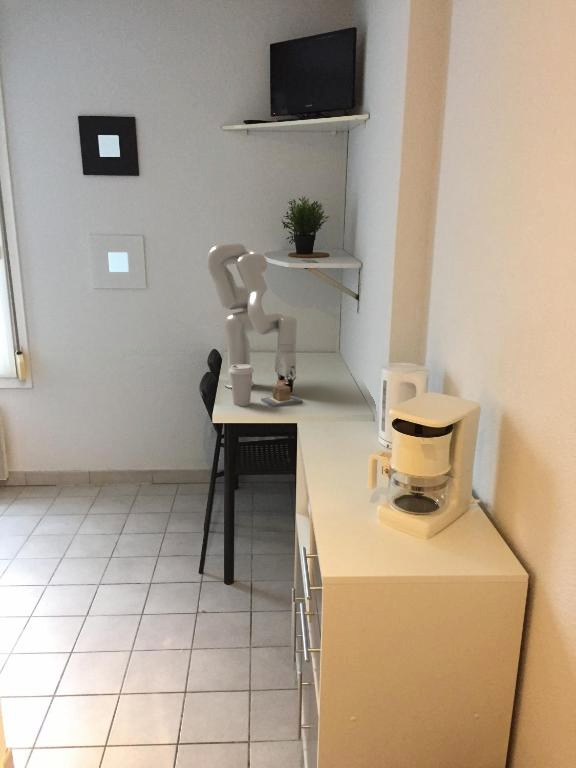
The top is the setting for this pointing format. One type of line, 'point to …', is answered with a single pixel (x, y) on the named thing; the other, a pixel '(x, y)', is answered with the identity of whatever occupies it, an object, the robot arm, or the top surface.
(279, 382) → the terracotta block
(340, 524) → the top surface
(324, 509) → the top surface
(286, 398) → the walnut block
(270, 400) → the board
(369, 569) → the top surface
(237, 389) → the coffee cup
